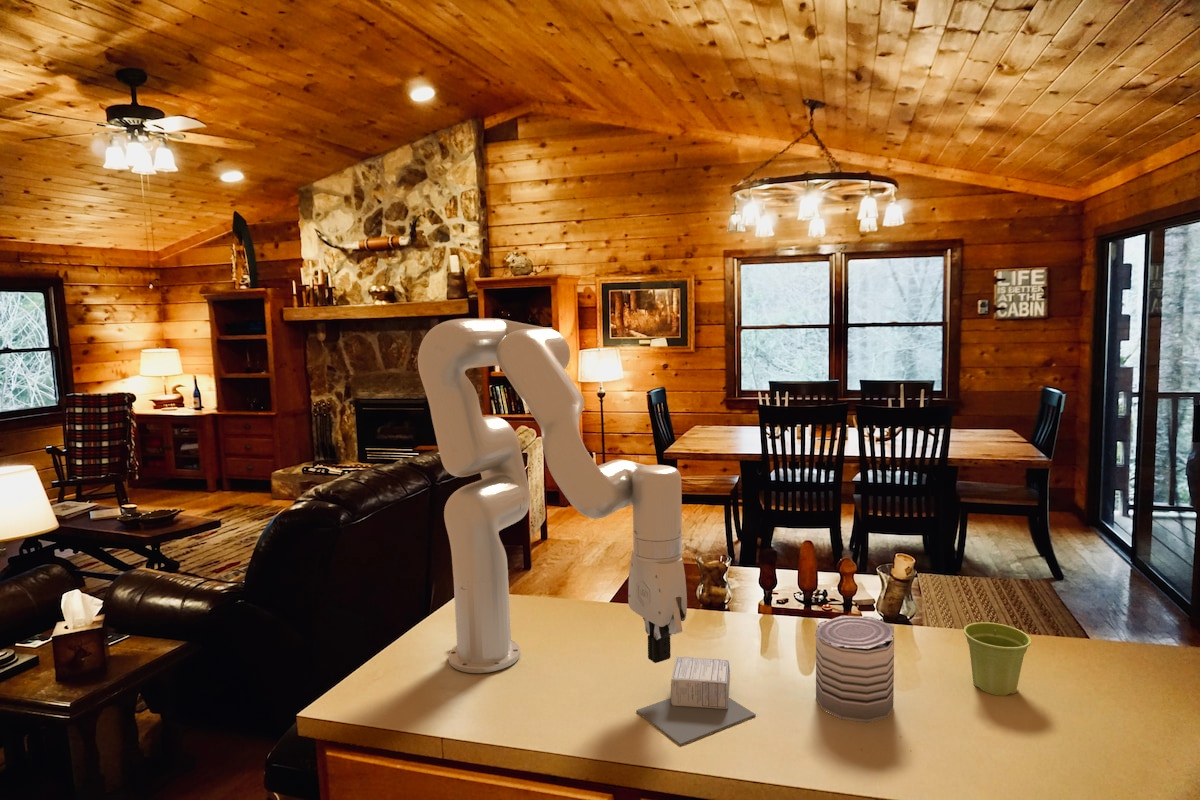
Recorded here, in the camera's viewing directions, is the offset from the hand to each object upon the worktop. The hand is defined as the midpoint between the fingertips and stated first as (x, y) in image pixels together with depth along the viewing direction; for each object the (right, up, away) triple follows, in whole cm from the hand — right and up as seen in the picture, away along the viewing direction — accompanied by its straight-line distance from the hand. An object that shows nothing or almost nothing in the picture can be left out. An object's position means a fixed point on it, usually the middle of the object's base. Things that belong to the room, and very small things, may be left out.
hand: (659, 658), depth 119 cm
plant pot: (+53, -5, 0) cm, 53 cm away
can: (+30, -6, -3) cm, 30 cm away
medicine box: (+2, -3, 0) cm, 4 cm away
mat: (+5, -7, -5) cm, 10 cm away
